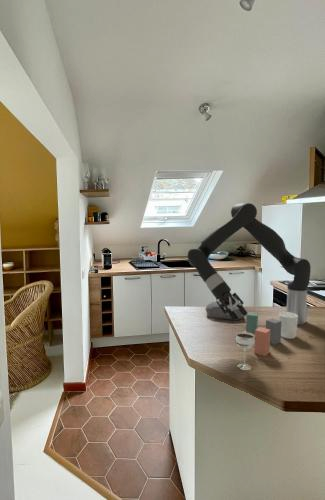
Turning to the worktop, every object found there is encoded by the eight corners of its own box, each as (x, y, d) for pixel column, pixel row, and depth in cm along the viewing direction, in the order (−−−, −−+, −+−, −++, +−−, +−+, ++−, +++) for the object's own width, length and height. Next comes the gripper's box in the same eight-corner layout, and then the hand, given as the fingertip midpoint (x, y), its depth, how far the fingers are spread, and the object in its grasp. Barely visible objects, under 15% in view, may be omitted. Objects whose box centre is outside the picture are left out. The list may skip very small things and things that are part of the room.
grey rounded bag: (241, 312, 171) (205, 310, 174) (241, 298, 170) (205, 296, 173) (243, 321, 156) (205, 319, 160) (244, 306, 155) (205, 304, 159)
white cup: (296, 333, 140) (297, 313, 139) (297, 340, 132) (298, 318, 131) (277, 331, 142) (278, 311, 141) (278, 338, 135) (279, 316, 134)
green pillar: (247, 331, 143) (248, 311, 142) (257, 332, 141) (258, 313, 140) (245, 334, 139) (246, 314, 138) (256, 336, 137) (256, 316, 136)
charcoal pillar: (271, 338, 134) (272, 318, 133) (280, 342, 130) (281, 321, 129) (265, 341, 131) (266, 320, 130) (274, 344, 128) (275, 323, 127)
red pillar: (258, 349, 123) (259, 326, 122) (269, 352, 121) (270, 329, 120) (254, 353, 120) (254, 330, 119) (265, 356, 117) (266, 332, 116)
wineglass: (251, 373, 104) (252, 340, 103) (232, 368, 108) (233, 336, 107) (256, 365, 110) (257, 333, 109) (238, 360, 114) (239, 330, 112)
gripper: (214, 283, 123) (240, 316, 117) (231, 278, 134) (254, 308, 128) (203, 294, 127) (227, 326, 121) (220, 288, 138) (242, 317, 132)
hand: (241, 317), depth 125 cm, fingers open, 8 cm apart
